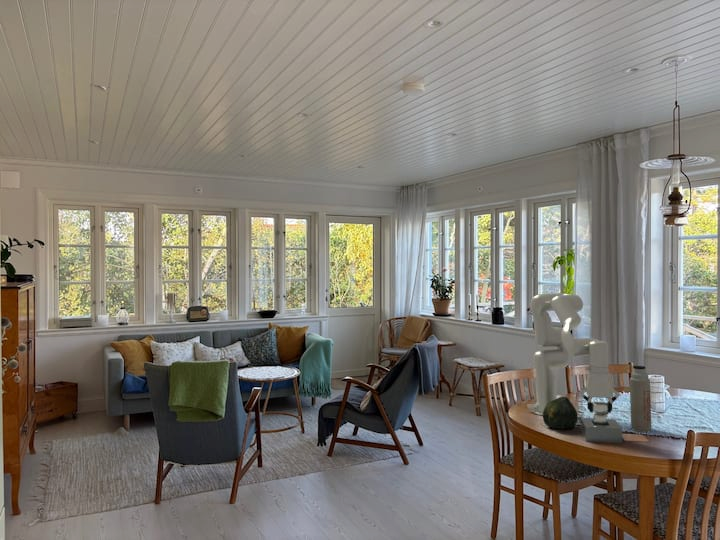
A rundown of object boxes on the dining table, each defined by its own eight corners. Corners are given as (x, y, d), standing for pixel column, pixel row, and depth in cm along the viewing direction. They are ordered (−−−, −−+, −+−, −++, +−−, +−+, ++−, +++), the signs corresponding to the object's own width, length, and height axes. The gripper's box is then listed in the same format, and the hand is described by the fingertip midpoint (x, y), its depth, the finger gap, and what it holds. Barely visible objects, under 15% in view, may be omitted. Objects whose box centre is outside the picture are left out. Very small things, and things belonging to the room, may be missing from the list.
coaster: (624, 440, 221) (624, 440, 221) (619, 434, 230) (619, 433, 230) (648, 442, 219) (648, 441, 219) (642, 435, 227) (642, 434, 227)
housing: (585, 441, 221) (585, 426, 222) (580, 431, 235) (580, 417, 235) (622, 443, 218) (622, 428, 218) (615, 433, 231) (615, 419, 231)
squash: (532, 412, 248) (547, 392, 239) (557, 409, 254) (573, 390, 245) (547, 439, 238) (564, 419, 229) (574, 435, 244) (590, 416, 235)
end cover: (592, 429, 224) (592, 404, 224) (590, 424, 231) (589, 400, 231) (610, 430, 223) (609, 405, 223) (607, 425, 229) (606, 401, 229)
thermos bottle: (655, 430, 233) (653, 367, 233) (640, 432, 231) (638, 368, 231) (641, 425, 241) (639, 364, 241) (627, 427, 239) (625, 365, 239)
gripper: (578, 371, 225) (579, 413, 225) (623, 372, 221) (624, 415, 221) (575, 367, 233) (576, 408, 233) (619, 368, 228) (620, 410, 228)
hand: (599, 411), depth 227 cm, fingers closed on end cover, 6 cm apart
